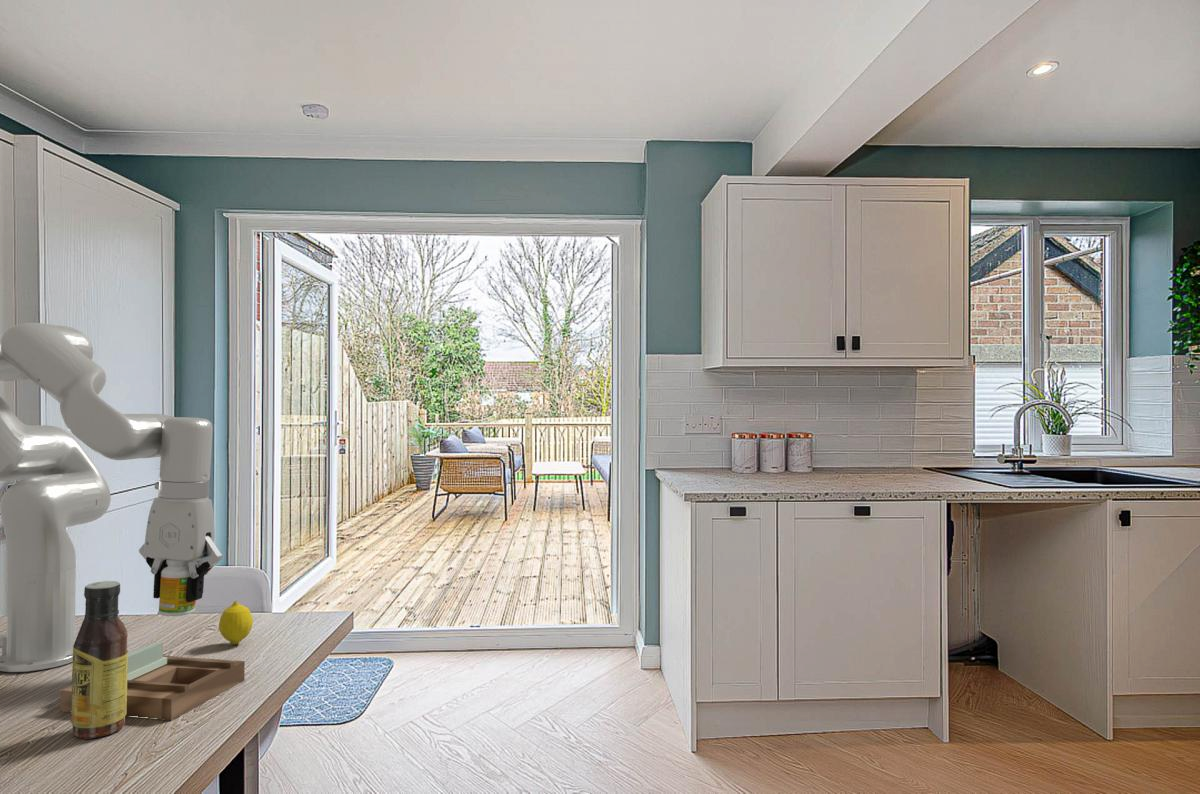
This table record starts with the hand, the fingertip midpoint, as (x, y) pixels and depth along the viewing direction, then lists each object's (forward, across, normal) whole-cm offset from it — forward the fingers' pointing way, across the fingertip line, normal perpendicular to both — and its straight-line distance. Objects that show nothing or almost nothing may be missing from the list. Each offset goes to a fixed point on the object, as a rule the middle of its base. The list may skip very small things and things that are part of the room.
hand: (178, 597), depth 129 cm
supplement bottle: (+3, 0, 0) cm, 3 cm away
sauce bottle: (+11, +9, -25) cm, 29 cm away
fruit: (+12, +3, +12) cm, 17 cm away
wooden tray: (+11, +7, -12) cm, 18 cm away
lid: (+8, +1, -12) cm, 15 cm away
